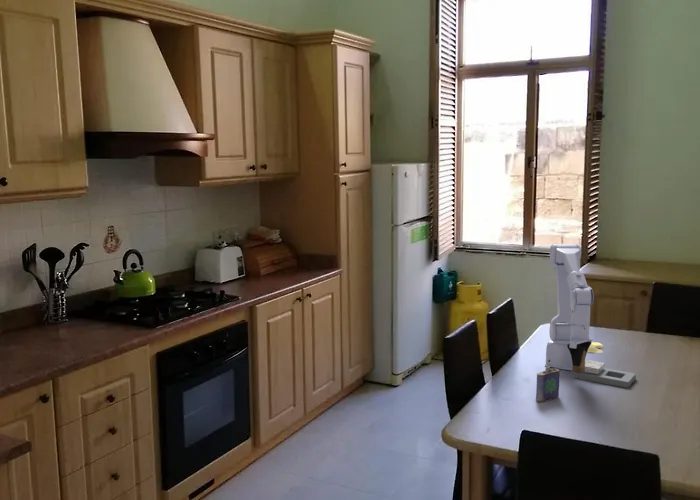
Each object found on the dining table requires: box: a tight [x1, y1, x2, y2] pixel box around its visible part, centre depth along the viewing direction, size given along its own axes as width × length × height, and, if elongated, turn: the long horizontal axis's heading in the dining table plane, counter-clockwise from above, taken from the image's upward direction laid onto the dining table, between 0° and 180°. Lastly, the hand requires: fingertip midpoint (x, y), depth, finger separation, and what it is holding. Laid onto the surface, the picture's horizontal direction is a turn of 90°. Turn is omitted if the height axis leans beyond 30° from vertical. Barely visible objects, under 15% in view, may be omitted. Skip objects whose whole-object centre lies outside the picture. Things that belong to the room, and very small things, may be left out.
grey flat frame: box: [572, 367, 637, 389], centre depth 229 cm, size 18×10×2 cm, turn 54°
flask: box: [535, 365, 561, 403], centre depth 210 cm, size 9×3×11 cm, turn 121°
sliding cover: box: [585, 359, 606, 374], centre depth 231 cm, size 8×8×2 cm
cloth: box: [587, 341, 604, 354], centre depth 263 cm, size 22×19×6 cm
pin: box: [571, 350, 587, 373], centre depth 222 cm, size 4×4×7 cm
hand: (578, 363), depth 222 cm, fingers closed on pin, 4 cm apart
